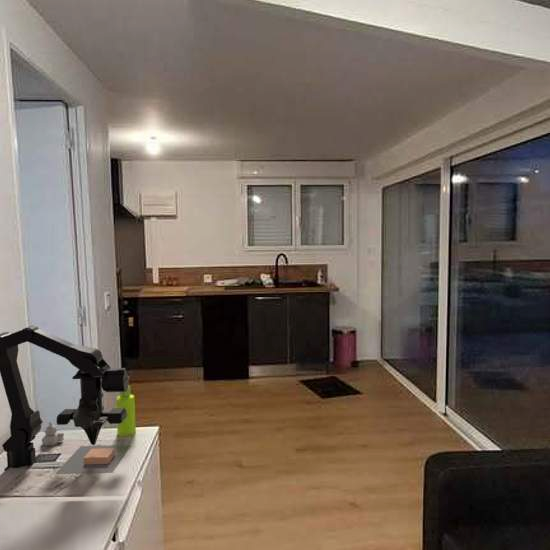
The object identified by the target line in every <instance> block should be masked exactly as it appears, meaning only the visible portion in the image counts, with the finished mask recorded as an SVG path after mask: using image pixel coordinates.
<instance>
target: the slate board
mask: <svg viewBox="0 0 550 550" xmlns="http://www.w3.org/2000/svg"><path fill="white" fill-rule="evenodd" d="M131 446H132V444H125V445H124V444H121V445H120V444H119V445H82V446H81V445H80V446H79V447H78V449H76V451H74V453H72V455H71V456H70V457H69V458H68V459H67V460H66V462H65V463H63V465H61V466H60V467H59V469H58V470H56V472H55V473H54V475H68V474H69V475H71V474H72V475H73V474H74V475H75V474H107V473H108V474H112V473H114V471H115V470H116V468H118V466H119V464H120V463H121V461H122V460H123V458H124V457H125V455H126V454H127V452H128V451H129V449H130V448H131ZM102 448H115V455H114V457H113V458H112V459H111V461H110V462H109V463H108V464H84V457H85V455H86V454H87V453H88V452H89V451H90V450H91V449H102Z"/></svg>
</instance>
